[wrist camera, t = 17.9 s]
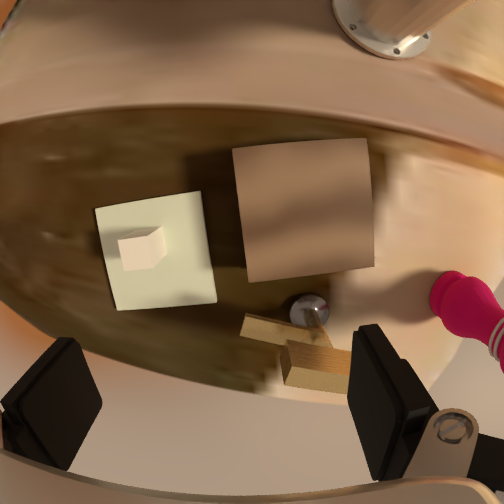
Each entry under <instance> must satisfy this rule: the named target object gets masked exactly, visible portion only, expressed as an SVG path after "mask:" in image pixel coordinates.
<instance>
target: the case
mask: <svg viewBox="0 0 504 504" xmlns="http://www.w3.org/2000/svg"><path fill="white" fill-rule="evenodd" d="M232 153H233V162H234V170H235V178H236V186H237V193H238V201H239V209H240V217H241V225H242V233H243V241H244V248H245V256H246V264H247V272H248V279H249V283H250V282H259V281H267V280H276V279H284V278H292V277H300V276H308V275H316V274H323V273H331V272H338V271H346V270H353V269H360V268H367V267H374V227H373V207H372V191H371V179H370V167H369V157H368V148H367V139H366V138H353V139H331V140H315V141H301V142H289V143H278V144H268V145H258V146H250V147H241V148H233V149H232Z"/></svg>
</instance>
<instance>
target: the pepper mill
mask: <svg viewBox="0 0 504 504" xmlns="http://www.w3.org/2000/svg"><path fill="white" fill-rule="evenodd" d="M430 306H431V309H432V311H433V312H434V313H435V314H436V315H437V316H439V317H440V318H441V319H442V322H443V324H444V326H445V327H446V329H447V330H449V331H450V332H451V333H453V334H454V335H457V336H460V337H465V338H474V339H477V340H480V341H481V342H483V343H484V344H486V345H487V346H488V348H489V353H490V355H491V356H493V357H494V358H495V359H496V360H497V361H499V362H500V366H501V369H502V371H503V373H504V310H503V309H502V308H501V307H500V306H499V304H498V303H497V301H496V299H495V297H494V295H493V293H492V291H491V290H490V288H489V287H488V286H487V285H486V284H485V283H484V282H483V281H481V280H480V279H478V278H476V277H466V276H465V275H463V274H461V273H460V272H457V271H450V272H447V273H445V274H443V275H442V276H441V277H440V278H439V279H438V280H437V281H436V283H435V284H434V286H433V288H432V291H431V294H430Z"/></svg>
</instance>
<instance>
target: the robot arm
mask: <svg viewBox="0 0 504 504" xmlns="http://www.w3.org/2000/svg"><path fill="white" fill-rule="evenodd" d="M474 1H476V0H332V7H333V11H334V15H335V17H336V19H337V21H338V23H339V25H340V26H341V27H342V29H343V30H344V32H345V33H346V34H347V35H348V36H349V37H350V38H351V39H352V40H353V41H355V42H356V43H357V44H358V45H359V46H361V47H363V48H364V49H366V50H367V51H369V52H371V53H373V54H375V55H377V56H380V57H384V58H387V59H393V60H406V59H410V58H413V57H415V56H417V55H419V54H420V53H422V52H423V51H424V50H425V49H426V48H427V46H428V45H429V43H430V40H431V33H432V29H433V28H434V27H436V26H437V25H439V24H440V23H442V22H443V21H445V20H446V19H448V18H449V17H451V16H452V15H454V14H456V13H457V12H459V11H460V10H462V9H463V8H465V7H466V6H468V5H470V4H471V3H473V2H474ZM351 29H352V30H351ZM347 400H348V405H349V408H350V411H351V414H352V417H353V420H354V423H355V426H356V429H357V432H358V435H359V439H360V442H361V445H362V448H363V451H364V454H365V457H366V461H367V464H368V467H369V471H370V474H371V477H372V479H373V480H374V481H376V480H378V481H379V482H376V483H370V484H364V485H357V486H351V487H344V488H338V489H331V490H323V491H314V492H305V493H292V494H280V495H257V496H222V495H221V496H219V495H199V494H186V493H175V492H166V491H158V490H151V489H144V488H138V487H132V486H126V485H121V484H116V483H111V482H106V481H102V480H97V479H93V478H89V477H85V476H82V475H77V474H74V473H71V472H67V470H68V469H69V467H70V466H71V464H72V461H73V460H74V458H75V456H76V454H77V452H78V450H79V448H80V446H81V445H82V443H83V441H84V439H85V437H86V435H87V433H88V431H89V430H90V428H91V426H92V424H93V422H94V420H95V418H96V417H97V415H98V413H99V411H100V409H101V407H102V398H101V396H100V394H99V391H98V389H97V387H96V384H95V382H94V380H93V377H92V375H91V373H90V370H89V367H88V365H87V362H86V360H85V357H84V355H83V352H82V349H81V346H80V344H79V343H78V342H76V340H75V339H74V338H69V337H59V338H58V339H57V340H56V341H55V342H54V343H53V344H52V345H51V346H50V347H49V348H48V349H47V350H46V351H45V352H44V353H43V354H42V355H41V356H40V358H39V359H38V360H37V361H36V362H35V363H34V364H33V365H32V366H31V367H30V368H29V369H28V371H27V372H26V373H25V374H24V375H23V376H22V377H21V378H20V379H19V381H17V383H16V384H15V385H14V386H13V387H12V388H11V389H10V391H9V392H8V393H7V394H6V395H5V396H4V397H3V398H2V400H1V401H0V403H1V404H2V406H3V408H4V409H5V411H4V412H3V413H2V411H1V410H0V504H504V440H503V439H499V438H495V437H491V436H488V435H484V434H480V433H479V426H478V423H477V421H476V419H475V418H474V417H473V416H472V415H471V414H470V413H468V412H467V411H464V410H461V409H454V408H449V409H443V410H441V411H439V409H438V407H437V406H436V404H435V403H434V401H433V399H432V398H431V396H430V395H429V393H428V392H427V390H426V388H425V387H424V385H423V384H422V382H421V381H420V379H419V378H418V376H417V374H416V373H415V371H414V370H413V368H412V367H411V365H410V364H409V362H408V361H407V360H406V359H400V357H399V355H398V354H397V352H396V351H395V349H394V348H393V346H392V345H391V343H390V342H389V340H388V339H387V337H386V336H385V334H384V333H383V331H382V330H381V328H380V327H379V325H378V324H370V325H363V326H360V327H359V329H358V331H354V332H353V340H352V353H351V364H350V374H349V383H348V392H347Z"/></svg>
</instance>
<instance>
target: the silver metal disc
mask: <svg viewBox="0 0 504 504" xmlns="http://www.w3.org/2000/svg"><path fill="white" fill-rule="evenodd" d="M308 309H314V310H316V312H317V314H318V316H319V318H320V320H321V322H322V325H324V324H325V323H326V322H327V320H328V317H329V307H328V305H327V303H326V301H325V300H324V299H323V298H322V297H321V296H320V295H318V294H315V293H305V294H302V295H300V296H298V297H297V298H296V299H295V300H294V301H293V302H292V304H291V306H290V309H289V315H290V319H291V322H292V323H293V324H297V325H302V326H306V324H305V321H304V318H303V314H304V312H305V311H306V310H308Z"/></svg>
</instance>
